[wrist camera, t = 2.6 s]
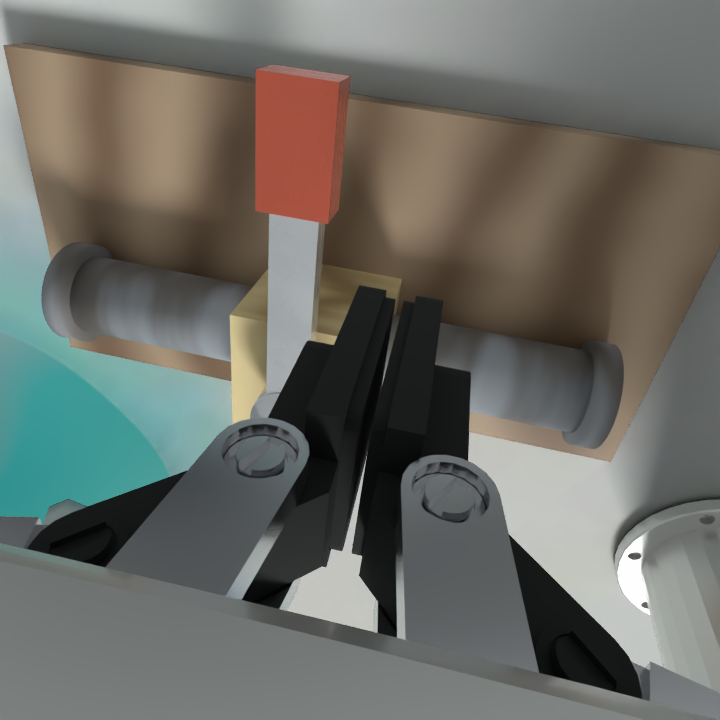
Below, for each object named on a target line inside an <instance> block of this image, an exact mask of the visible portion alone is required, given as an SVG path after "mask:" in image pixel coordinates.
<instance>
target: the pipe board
mask: <svg viewBox="0 0 720 720" xmlns="http://www.w3.org/2000/svg"><path fill="white" fill-rule="evenodd" d="M3 46H4V50H5V55H6V59H7V64H8V68H9V73H10V77H11V82H12V86H13V90H14V95H15V99H16V104H17V108H18V113H19V117H20V122H21V126H22V131H23V135H24V140H25V144H26V149H27V153H28V158H29V162H30V166H31V171H32V175H33V180H34V184H35V189H36V193H37V198H38V202H39V207H40V211H41V216H42V220H43V225H44V229H45V234H46V238H47V243H48V247H49V251H50V256H51V260H52V261H51V263H50V264H49V266H48V269H47V271H46V274H45V277H44V281H43V286H42V309H43V314H44V317H45V320H46V322H47V324H48V326H49V327H50V329H51V330H52V331H53V332H54V333H56V334H57V335H59V336H61V337H64V338H69V341H70V345H71V347H74V348H79V349H83V350H88V351H93V352H97V353H102V354H107V355H112V356H116V357H121V358H126V359H130V360H135V361H140V362H144V363H149V364H154V365H158V366H163V367H168V368H172V369H177V370H182V371H187V372H191V373H196V374H201V375H205V376H210V377H215V378H219V379H224V380H229V381H232V414H233V424H235V423H237V422H239V421H242V420H247V419H250V413H251V409H252V407H253V405H254V404H255V402H256V400H257V399H258V397H259V395H260V394H261V392H262V390H263V389H264V388H265V387H266V381H267V319H268V258H269V213H263V212H258V211H255V131H256V79H253V78H247V77H240V76H234V75H227V74H221V73H214V72H208V71H201V70H195V69H188V68H182V67H175V66H169V65H162V64H156V63H149V62H143V61H136V60H130V59H123V58H117V57H110V56H104V55H97V54H91V53H84V52H78V51H71V50H65V49H58V48H52V47H45V46H38V45H32V44H25V43H23V44H12V45H3ZM719 248H720V150H716V149H709V148H703V147H696V146H690V145H683V144H677V143H670V142H664V141H657V140H651V139H644V138H638V137H631V136H625V135H618V134H612V133H605V132H599V131H592V130H586V129H579V128H572V127H566V126H559V125H553V124H546V123H540V122H533V121H527V120H520V119H514V118H507V117H501V116H494V115H488V114H481V113H475V112H468V111H462V110H455V109H449V108H442V107H436V106H429V105H423V104H416V103H410V102H403V101H397V100H390V99H384V98H377V97H371V96H364V95H358V94H351V93H349V99H348V110H347V121H346V133H345V144H344V155H343V166H342V178H341V189H340V200H339V210H338V211H337V212H336V214H335V215H334V217H333V218H332V219H331V221H330V222H329V223H328V224H325V231H324V244H323V257H322V270H321V283H320V297H319V310H318V323H317V336H316V342H321V343H326V344H331V345H334V343H335V341H336V339H337V336H338V334H339V331H340V329H341V327H342V324H343V322H344V320H345V317H346V315H347V313H348V310H349V308H350V306H351V303H352V301H353V298H354V296H355V294H356V291H357V289H358V287H359V285H361V286H367V287H372V288H378V289H383V290H386V297H387V298H392V299H396V301H395V308H394V314H393V321H392V327H391V333H390V339H389V345H388V351H387V357H386V363H385V370H384V376H383V380H384V377H385V373H386V369H387V365H388V361H389V357H390V353H391V350H392V346H393V342H394V338H395V334H396V330H397V326H398V322H399V319H400V315H401V311H402V307H403V303H404V301H408V302H414V303H415V299H416V296H421V297H427V298H432V299H438V300H443V308H442V316H441V323H440V331H439V338H438V346H437V353H436V361H435V365H439V366H444V367H449V368H454V369H459V370H465V371H470V373H471V391H470V418H469V432H472V433H477V434H482V435H486V436H491V437H496V438H501V439H505V440H510V441H515V442H519V443H524V444H529V445H533V446H538V447H543V448H547V449H552V450H557V451H561V452H566V453H571V454H576V455H580V456H585V457H590V458H594V459H599V460H604V461H608V462H611V460H612V458H613V456H614V455H615V453H616V451H617V449H618V447H619V445H620V443H621V441H622V439H623V437H624V435H625V433H626V431H627V429H628V427H629V425H630V423H631V421H632V419H633V417H634V415H635V413H636V411H637V409H638V407H639V405H640V403H641V401H642V399H643V397H644V395H645V393H646V392H647V390H648V388H649V386H650V384H651V382H652V380H653V378H654V376H655V374H656V372H657V370H658V368H659V366H660V364H661V362H662V360H663V358H664V356H665V354H666V352H667V350H668V348H669V346H670V344H671V342H672V340H673V338H674V336H675V334H676V332H677V330H678V328H679V327H680V325H681V323H682V321H683V319H684V317H685V315H686V313H687V311H688V309H689V307H690V305H691V303H692V301H693V299H694V297H695V295H696V293H697V291H698V289H699V287H700V285H701V283H702V281H703V279H704V277H705V275H706V273H707V271H708V269H709V267H710V265H711V264H712V262H713V260H714V258H715V256H716V254H717V252H718V250H719ZM382 384H383V382H382Z"/></svg>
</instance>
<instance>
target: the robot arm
mask: <svg viewBox="0 0 720 720" xmlns="http://www.w3.org/2000/svg"><path fill="white" fill-rule="evenodd" d="M395 301H396V299H392V298H387V297H386V290H383V289H378V288H372V287H367V286H361V285H359V287H358V289H357V291H356V294H355V296H354V298H353V301H352V303H351V306H350V308H349V310H348V313H347V315H346V317H345V320H344V322H343V324H342V327H341V329H340V331H339V334H338V336H337V339H336V341H335V343H334V345H331V344H326V343H321V342H316V341H310V340H309V341H307V342H306V343H305V345H304V347H303V349H302V351H301V353H300V355H299V357H298V359H297V361H296V363H295V365H294V367H293V369H292V371H291V373H290V375H289V377H288V379H287V381H286V383H285V385H284V387H283V389H282V390H281V392H280V394H279V396H278V398H277V400H276V402H275V404H274V406H273V408H272V410H271V412H270V414H269V416H268V418H251V419H247V420H242V421H239V422H237V423H235V424H233V425H230V426H228V427H227V428H226V429H225V430H223V431H222V432H221V433H220V434H219V435H218V436H217V437H216V438H215V439H214V440H213V442H212V443H211V444H210V445H209V446H208V447H207V449H206V450H205V451H204V452H203V453H202V454H201V456H200V457H199V458H198V459H197V460H196V461H195V463H194V464H193V465H192V466H191V467H190V469H189V470H188V471H185V472H182V473H179V474H177V475H174V476H171V477H168V478H166V479H163V480H160V481H157V482H155V483H152V484H149V485H146V486H143V487H141V488H138V489H135V490H132V491H130V492H127V493H124V494H121V495H119V496H116V497H113V498H110V499H108V500H105V501H102V502H99V503H96V504H94V505H91V506H88V507H85V508H83V509H80V510H77V511H74V512H72V513H70V514H68V515H65V516H63V517H61V518H59V519H57V520H55V521H54V522H52V523H51V524H50V525H42V524H41V521H40V518H39V517H5V516H3V517H2V516H0V720H720V499H718V500H703V501H696V502H690V503H685V504H681V505H678V506H674V507H671V508H667V509H665V510H663V511H661V512H658V513H656V514H654V515H651V516H650V517H648V518H646V519H645V520H643V521H642V522H640V523H639V524H637V525H636V526H635V527H634V528H633V529H631V530H630V531H629V532H628V533H627V534H626V535H625V537H624V538H623V540H622V541H621V543H620V544H619V546H618V549H617V551H616V554H615V571H616V575H617V581H618V583H619V586H620V588H621V590H622V592H623V593H624V594H625V596H626V597H627V598H628V599H629V600H630V602H632V603H633V604H634V605H635V606H636V607H638V608H639V609H640V610H642V611H644V612H646V613H648V614H650V616H651V620H652V624H653V628H654V632H655V636H656V640H657V643H658V647H659V651H660V655H661V659H662V663H663V667H664V668H663V667H661V666H659V665H657V664H655V663H652V662H650V663H649V664H648V665H647V666H646V668H644V667H642V666H640V665H637V664H635V663H633V662H631V660H630V658H629V656H628V655H627V654H626V653H625V651H624V650H623V649H622V648H621V647H620V645H619V644H618V643H617V642H616V640H615V639H614V638H613V637H612V636H611V635H610V634H609V633H608V632H607V631H606V630H605V629H604V628H603V627H602V626H601V625H600V624H599V623H598V622H597V621H596V620H595V619H594V618H593V617H592V616H591V615H590V614H589V613H588V612H587V611H585V610H584V609H583V608H582V607H581V606H580V605H579V604H578V603H577V602H576V601H575V600H574V599H573V598H572V597H571V596H570V595H569V594H568V593H567V592H566V591H565V590H564V589H563V588H562V587H561V586H560V585H559V584H558V583H557V582H556V581H555V580H554V579H553V578H552V577H551V576H550V575H549V574H548V573H547V572H546V571H545V570H544V569H543V568H542V567H541V566H540V565H539V564H538V563H537V562H536V561H535V560H534V559H533V558H532V557H531V556H530V555H529V554H528V553H527V552H526V551H525V550H524V549H523V548H522V547H521V546H520V545H519V544H518V543H517V542H516V541H515V540H514V539H513V538H512V537H511V536H510V535H509V534H508V530H507V525H506V521H505V516H504V511H503V507H502V502H501V498H500V494H499V492H498V490H497V487H496V485H495V483H494V482H493V481H492V479H491V478H490V477H489V476H488V474H487V473H486V472H484V471H483V470H482V469H480V468H479V467H478V466H476V465H475V464H473V463H471V462H468V446H469V418H470V391H471V373H470V371H465V370H459V369H454V368H449V367H444V366H439V365H435V361H436V353H437V346H438V338H439V331H440V323H441V316H442V308H443V300H438V299H432V298H427V297H421V296H416V299H415V303H414V302H408V301H404V303H403V307H402V311H401V315H400V319H399V322H398V326H397V330H396V334H395V338H394V342H393V346H392V350H391V353H390V357H389V361H388V365H387V369H386V373H385V377H384V380H383V376H384V370H385V363H386V357H387V351H388V345H389V339H390V333H391V327H392V321H393V314H394V308H395ZM382 382H383V384H382ZM367 452H368V453H367ZM366 456H367V460H366ZM365 460H366V466H365V472H364V478H363V485H362V491H361V497H360V504H359V510H358V516H357V523H356V529H355V535H354V542H353V548H352V554H357V555H361V556H362V562H361V568H360V573H359V576H360V577H361V579H362V580H363V582H364V583H365V584H366V586H367V587H368V588H369V590H370V591H371V593H372V594H373V595H374V597H375V598H376V601H375V607H374V626H373V632H371V631H367V630H363V629H359V628H355V627H351V626H347V625H342V624H338V623H334V622H330V621H326V620H322V619H318V618H314V617H310V616H305V615H301V614H297V613H293V612H289V611H287V610H288V608H289V606H290V604H291V602H292V600H293V598H294V596H295V594H296V592H297V589H298V586H299V582H300V577H302V576H304V575H306V574H308V573H310V572H312V571H314V570H316V569H318V568H319V567H321V566H323V567H326V566H327V562H328V559H329V555H330V551H331V549H335V550H339V551H342V550H343V547H344V543H345V539H346V535H347V531H348V527H349V523H350V519H351V515H352V511H353V508H354V504H355V500H356V496H357V492H358V488H359V484H360V480H361V476H362V472H363V468H364V464H365Z"/></svg>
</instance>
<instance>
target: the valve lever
mask: <svg viewBox="0 0 720 720" xmlns="http://www.w3.org/2000/svg"><path fill="white" fill-rule="evenodd" d="M349 88H350V76H348V75H341V74H334V73H328V72H321V71H314V70H308V69H301V68H294V67H288V66H281V65H274V64H272V65H269V66H265V67H262V68H259V69H256V131H255V211H258V212H263V213H269V258H268V319H267V381H266V387H265V388H264V389H263V390H262V392H261V394H260V395H259V397H258V399H257V400H256V402H255V404H254V405H253V407H252V409H251V413H250V419H251V418H268V416H269V414H270V412H271V410H272V408H273V406H274V404H275V402H276V400H277V398H278V396H279V394H280V392H281V390H282V389H283V387H284V385H285V383H286V381H287V379H288V377H289V375H290V373H291V371H292V369H293V367H294V365H295V363H296V361H297V359H298V357H299V355H300V353H301V351H302V349H303V347H304V345H305V343H306V342H307V341H309V340H310V341H316V336H317V323H318V310H319V297H320V283H321V270H322V257H323V244H324V231H325V224H328V223H329V222H330V221H331V219H332V218H333V217H334V215H335V214H336V212H337V211H338V210H339V200H340V189H341V178H342V166H343V155H344V144H345V133H346V121H347V110H348V99H349Z"/></svg>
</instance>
